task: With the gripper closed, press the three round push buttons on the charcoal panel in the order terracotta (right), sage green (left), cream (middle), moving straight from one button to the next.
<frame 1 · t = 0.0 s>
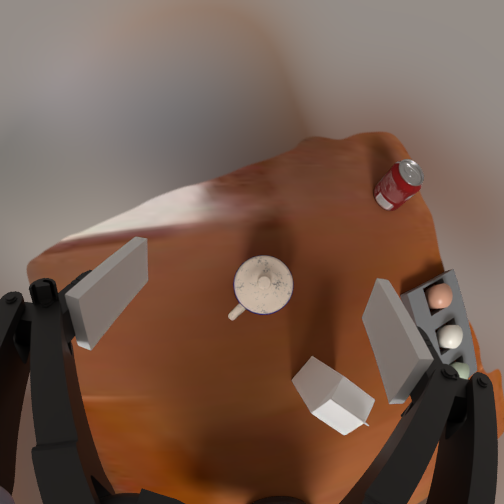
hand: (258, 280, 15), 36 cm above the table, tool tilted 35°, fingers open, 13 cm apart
button cream: (449, 336, 45), point 4 cm above the table, slide at 0.0 cm
soda can: (386, 197, 55), on the table
button terracotta: (438, 296, 47), point 3 cm above the table, slide at 0.0 cm
button panel: (439, 336, 48), on the table
button sage: (456, 373, 43), point 3 cm above the table, slide at 0.0 cm
milk: (313, 376, 47), on the table
teacup with lid: (256, 295, 51), on the table
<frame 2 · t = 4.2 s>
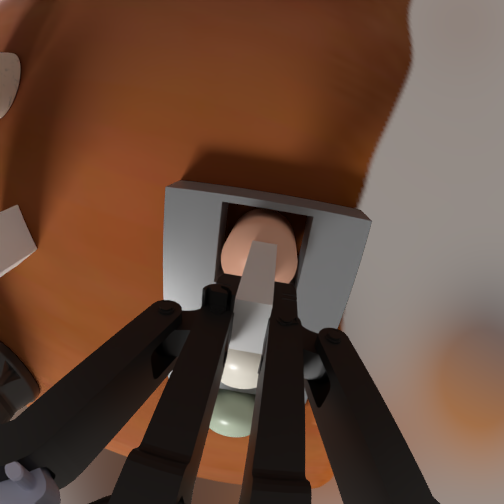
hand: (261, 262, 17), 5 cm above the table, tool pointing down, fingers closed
button cream: (243, 353, 22), point 4 cm above the table, slide at 0.0 cm
button terracotta: (261, 249, 19), point 3 cm above the table, slide at 0.8 cm, touching gripper
button panel: (248, 327, 26), on the table
button sage: (233, 411, 26), point 3 cm above the table, slide at 0.0 cm
milk: (18, 235, 25), on the table
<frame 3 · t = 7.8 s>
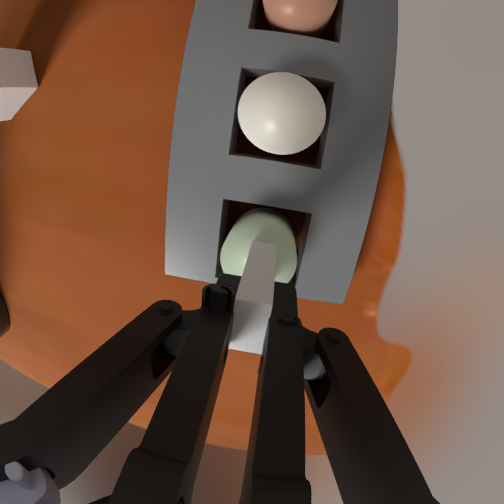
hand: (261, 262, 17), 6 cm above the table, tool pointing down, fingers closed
button cream: (281, 115, 16), point 3 cm above the table, slide at 0.0 cm
button terracotta: (298, 4, 13), point 2 cm above the table, slide at 1.2 cm
button panel: (281, 119, 19), on the table
button sage: (260, 248, 19), point 3 cm above the table, slide at 0.3 cm, touching gripper
milk: (21, 85, 18), on the table
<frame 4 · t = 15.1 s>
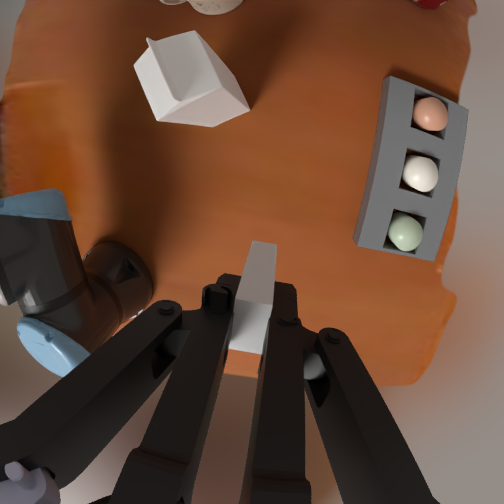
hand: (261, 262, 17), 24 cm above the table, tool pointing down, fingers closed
button cream: (418, 172, 34), point 2 cm above the table, slide at 1.2 cm
button terracotta: (428, 114, 30), point 2 cm above the table, slide at 1.2 cm
button panel: (412, 170, 36), on the table
button sage: (403, 230, 37), point 2 cm above the table, slide at 1.2 cm
milk: (223, 101, 36), on the table
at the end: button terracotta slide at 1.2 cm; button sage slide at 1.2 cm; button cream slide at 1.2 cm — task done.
